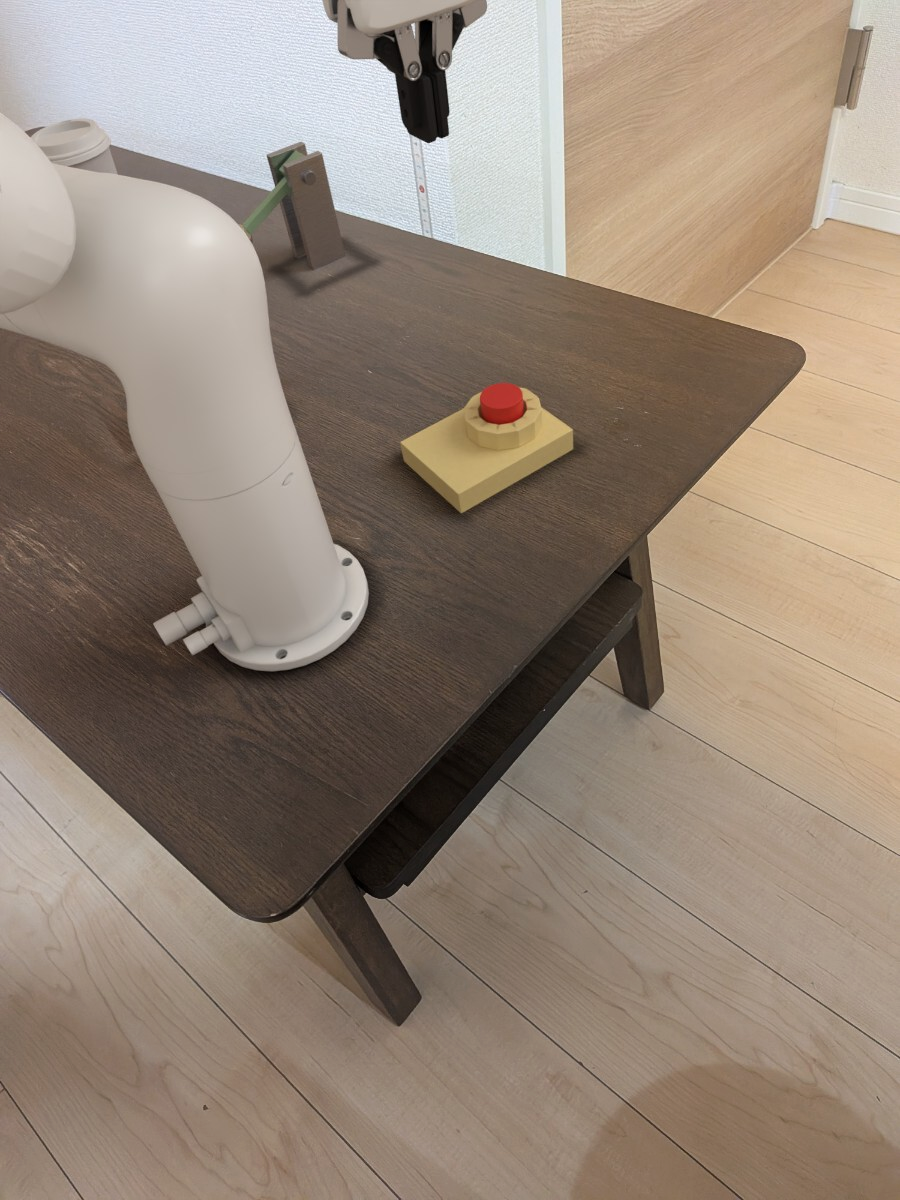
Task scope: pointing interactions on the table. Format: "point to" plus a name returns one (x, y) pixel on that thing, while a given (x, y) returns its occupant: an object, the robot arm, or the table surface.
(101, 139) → the coffee cup
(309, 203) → the bracket
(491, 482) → the button box
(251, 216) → the lever
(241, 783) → the table surface
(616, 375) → the table surface
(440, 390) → the table surface
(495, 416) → the button
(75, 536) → the table surface
